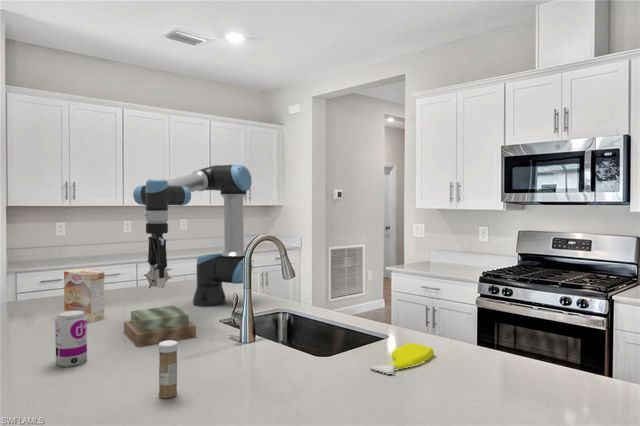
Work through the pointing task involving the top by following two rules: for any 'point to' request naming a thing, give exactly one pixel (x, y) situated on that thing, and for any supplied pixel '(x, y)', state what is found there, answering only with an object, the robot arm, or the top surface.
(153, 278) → the game die
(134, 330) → the tower base
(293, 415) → the top surface
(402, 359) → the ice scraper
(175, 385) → the sprinkles bottle
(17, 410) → the top surface
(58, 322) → the supplement can
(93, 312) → the coffeecake box
